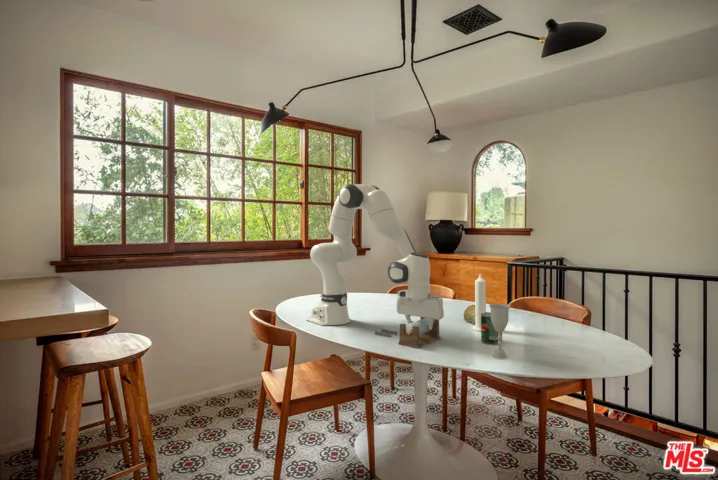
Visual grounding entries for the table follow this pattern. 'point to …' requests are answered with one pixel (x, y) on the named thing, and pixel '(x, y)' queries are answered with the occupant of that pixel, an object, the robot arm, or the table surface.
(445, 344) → the table surface
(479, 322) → the candle
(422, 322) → the paper roll
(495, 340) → the canned tomato
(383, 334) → the rest strips
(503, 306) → the chalice
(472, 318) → the pastry
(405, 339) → the roll holder
